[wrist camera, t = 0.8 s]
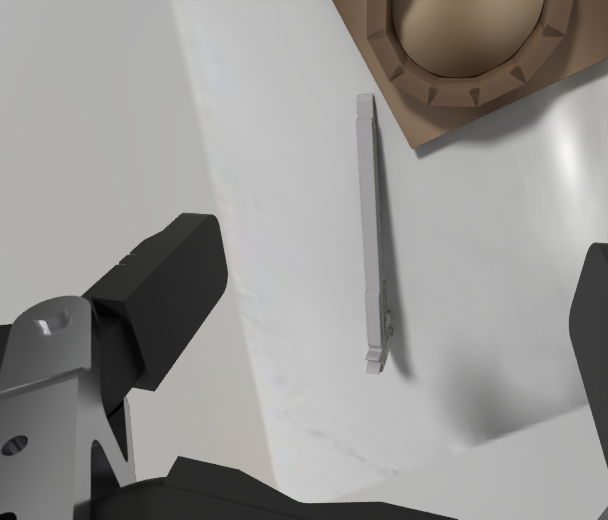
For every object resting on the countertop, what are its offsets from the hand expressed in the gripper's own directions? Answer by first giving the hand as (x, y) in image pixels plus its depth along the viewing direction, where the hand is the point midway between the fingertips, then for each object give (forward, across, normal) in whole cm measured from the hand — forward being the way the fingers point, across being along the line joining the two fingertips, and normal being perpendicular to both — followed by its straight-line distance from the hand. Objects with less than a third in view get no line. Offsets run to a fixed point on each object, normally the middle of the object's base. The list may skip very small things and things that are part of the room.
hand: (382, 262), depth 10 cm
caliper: (+23, +3, +12) cm, 26 cm away
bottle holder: (+21, -2, -4) cm, 21 cm away
